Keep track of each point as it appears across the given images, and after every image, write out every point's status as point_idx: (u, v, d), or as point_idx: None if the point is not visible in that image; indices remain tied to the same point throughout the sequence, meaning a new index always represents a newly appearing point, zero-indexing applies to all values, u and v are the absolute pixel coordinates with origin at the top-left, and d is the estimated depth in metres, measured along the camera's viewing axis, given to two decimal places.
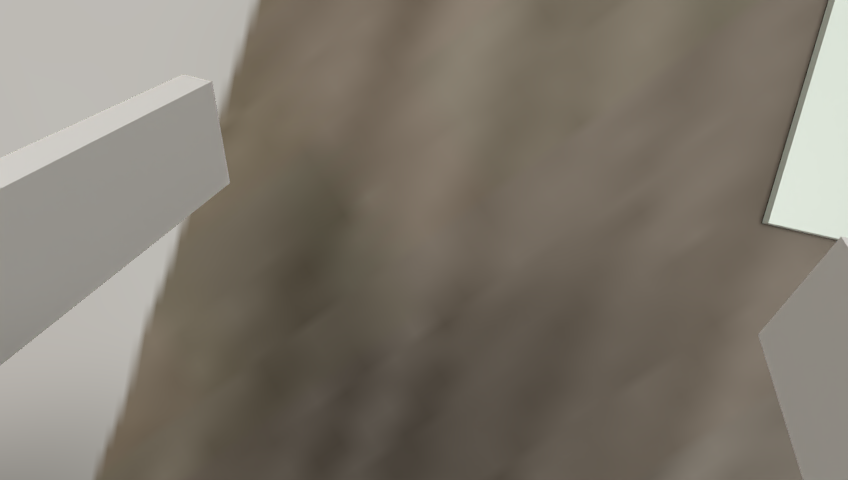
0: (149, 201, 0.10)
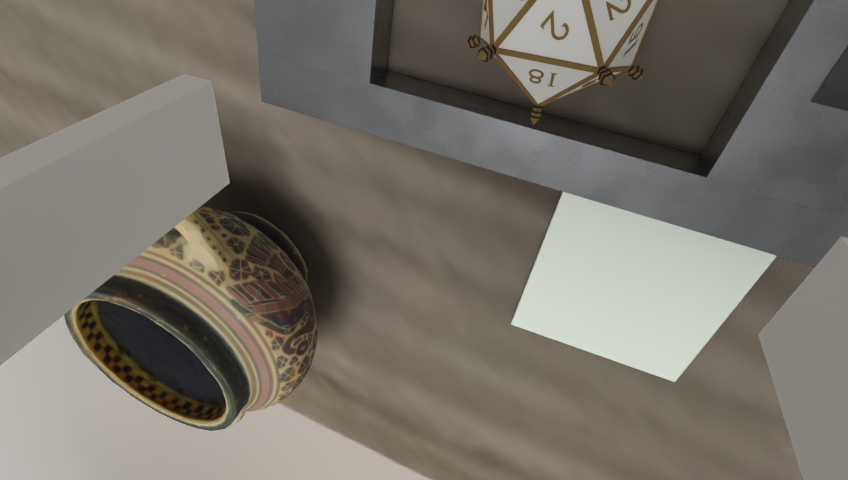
0: (149, 201, 0.10)
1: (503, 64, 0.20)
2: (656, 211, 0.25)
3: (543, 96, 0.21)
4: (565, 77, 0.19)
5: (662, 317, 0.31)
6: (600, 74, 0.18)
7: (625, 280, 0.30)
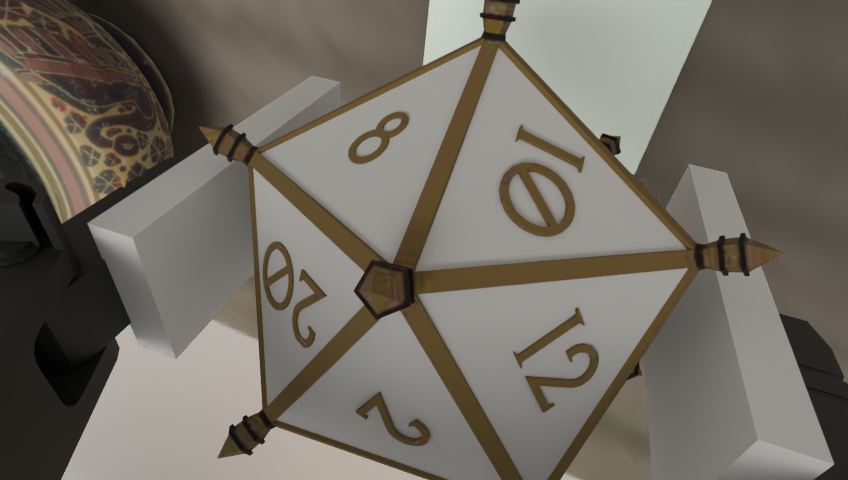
0: None
1: None
2: None
3: None
4: None
5: (607, 60, 0.22)
6: None
7: (550, 3, 0.22)
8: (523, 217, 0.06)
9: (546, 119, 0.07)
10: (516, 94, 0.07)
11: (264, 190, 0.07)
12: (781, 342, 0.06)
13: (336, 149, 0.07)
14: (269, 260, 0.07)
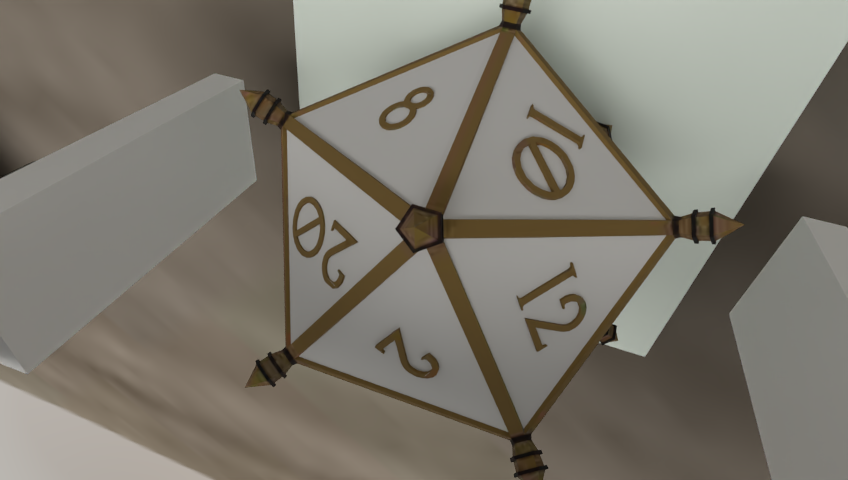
0: (184, 197, 0.10)
1: None
2: None
3: None
4: None
5: None
6: (514, 458, 0.08)
7: None
8: (532, 182, 0.07)
9: (553, 101, 0.08)
10: (528, 77, 0.08)
11: (298, 150, 0.08)
12: None
13: (366, 117, 0.08)
14: (299, 213, 0.08)
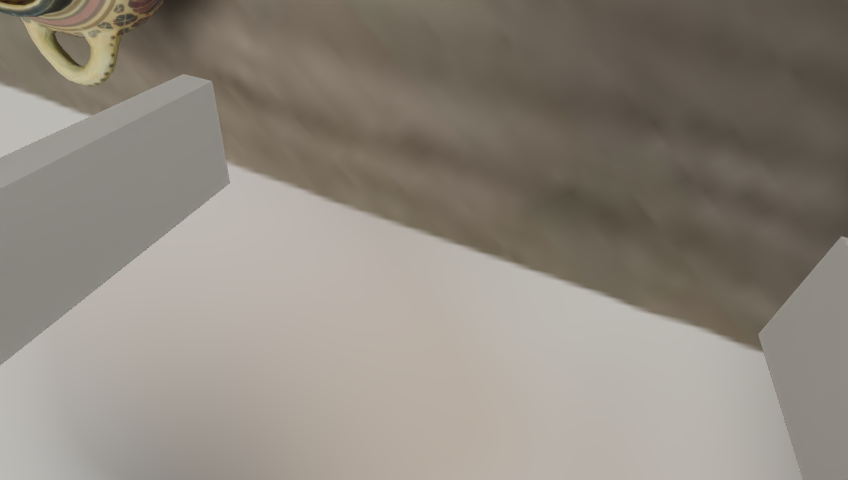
0: (149, 201, 0.10)
1: None
2: None
3: None
4: None
5: None
6: None
7: None
8: None
9: None
10: None
11: None
12: None
13: None
14: None
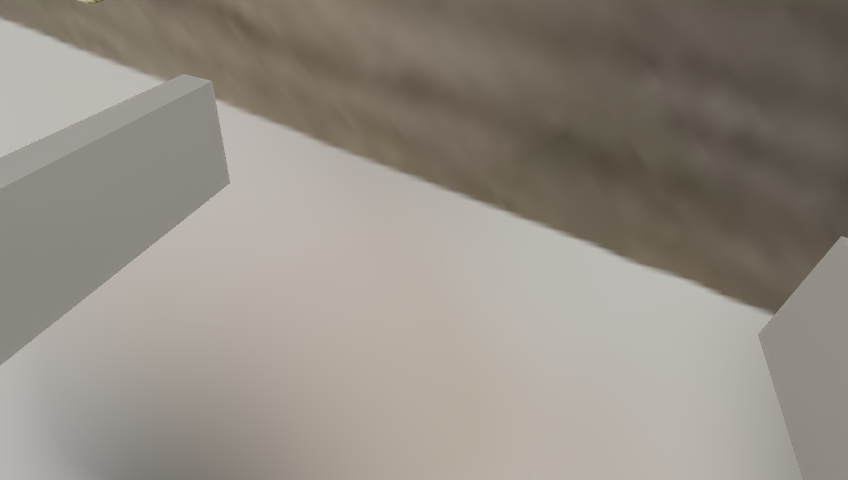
0: (149, 201, 0.10)
1: None
2: None
3: None
4: None
5: None
6: None
7: None
8: None
9: None
10: None
11: None
12: None
13: None
14: None
